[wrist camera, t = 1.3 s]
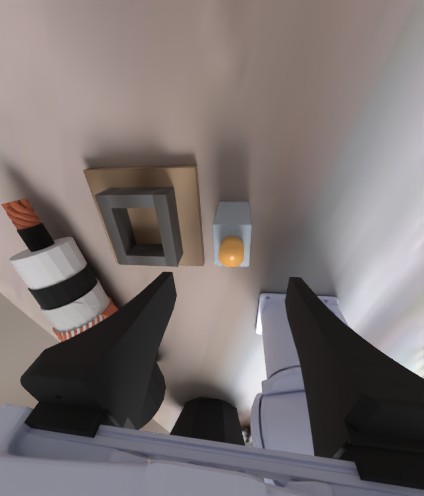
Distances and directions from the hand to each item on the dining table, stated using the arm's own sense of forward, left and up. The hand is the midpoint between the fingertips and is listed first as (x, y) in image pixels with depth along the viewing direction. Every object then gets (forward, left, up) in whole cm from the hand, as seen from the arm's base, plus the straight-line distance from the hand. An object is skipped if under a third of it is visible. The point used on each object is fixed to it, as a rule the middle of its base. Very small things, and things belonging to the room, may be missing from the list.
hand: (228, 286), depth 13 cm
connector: (0, 0, -10) cm, 10 cm away
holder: (+9, 0, -10) cm, 14 cm away
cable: (+19, +14, -11) cm, 26 cm away
